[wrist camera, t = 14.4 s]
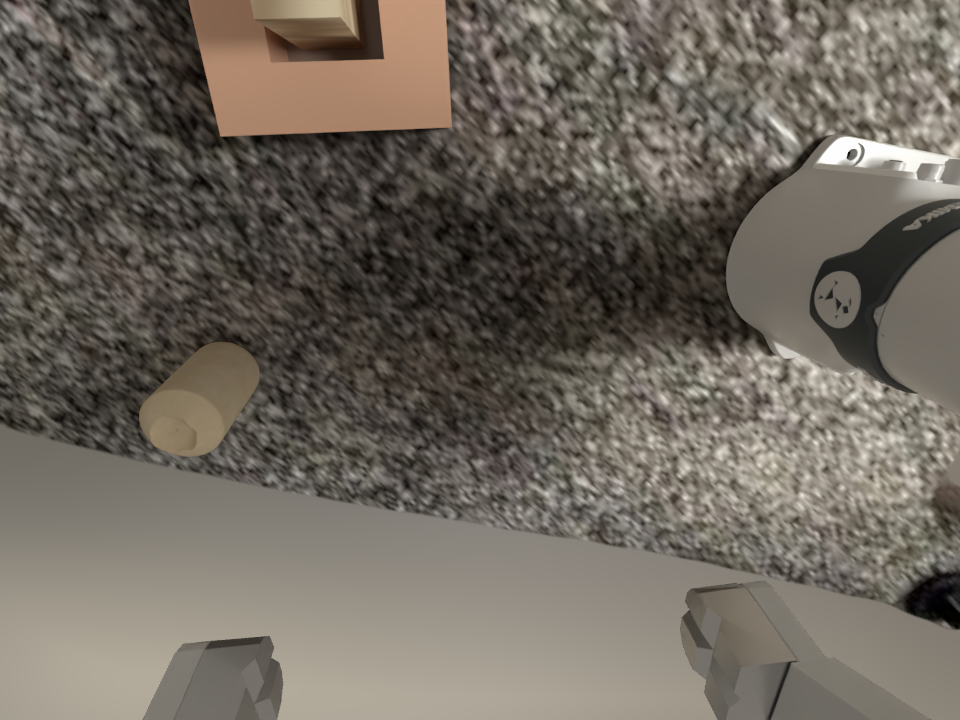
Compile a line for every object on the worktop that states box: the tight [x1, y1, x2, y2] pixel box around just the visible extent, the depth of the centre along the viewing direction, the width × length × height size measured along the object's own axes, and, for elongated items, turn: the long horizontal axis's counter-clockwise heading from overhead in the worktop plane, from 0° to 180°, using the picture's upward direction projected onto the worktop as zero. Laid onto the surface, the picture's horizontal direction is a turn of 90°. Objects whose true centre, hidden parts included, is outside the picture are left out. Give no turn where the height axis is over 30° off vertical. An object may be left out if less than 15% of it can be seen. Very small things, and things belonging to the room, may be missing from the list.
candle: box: [139, 342, 260, 457], centre depth 38 cm, size 6×6×10 cm
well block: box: [188, 0, 452, 137], centre depth 30 cm, size 14×14×6 cm
